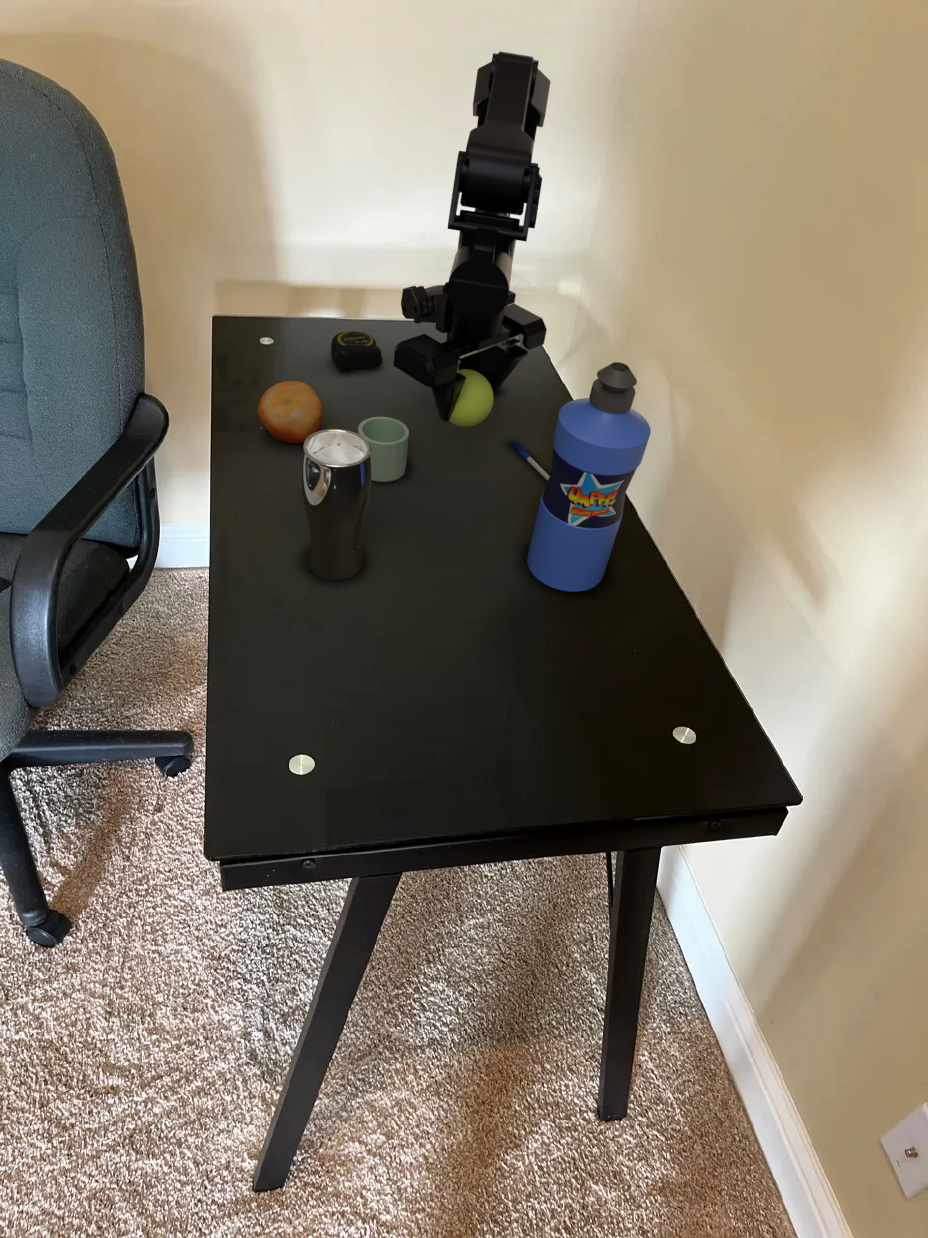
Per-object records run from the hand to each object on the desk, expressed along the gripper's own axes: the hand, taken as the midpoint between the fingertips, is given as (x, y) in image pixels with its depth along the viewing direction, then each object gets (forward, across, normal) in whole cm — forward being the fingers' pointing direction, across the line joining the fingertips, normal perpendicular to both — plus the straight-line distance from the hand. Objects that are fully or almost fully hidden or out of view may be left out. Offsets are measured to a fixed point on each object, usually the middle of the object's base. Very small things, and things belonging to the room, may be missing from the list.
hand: (463, 411), depth 96 cm
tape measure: (+11, -10, -30) cm, 34 cm away
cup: (+11, +4, -8) cm, 15 cm away
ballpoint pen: (+11, -12, +3) cm, 17 cm away
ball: (-2, 0, 0) cm, 2 cm away
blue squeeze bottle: (+11, 0, +18) cm, 22 cm away
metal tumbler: (+11, +21, +2) cm, 24 cm away
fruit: (+11, +9, -21) cm, 25 cm away
